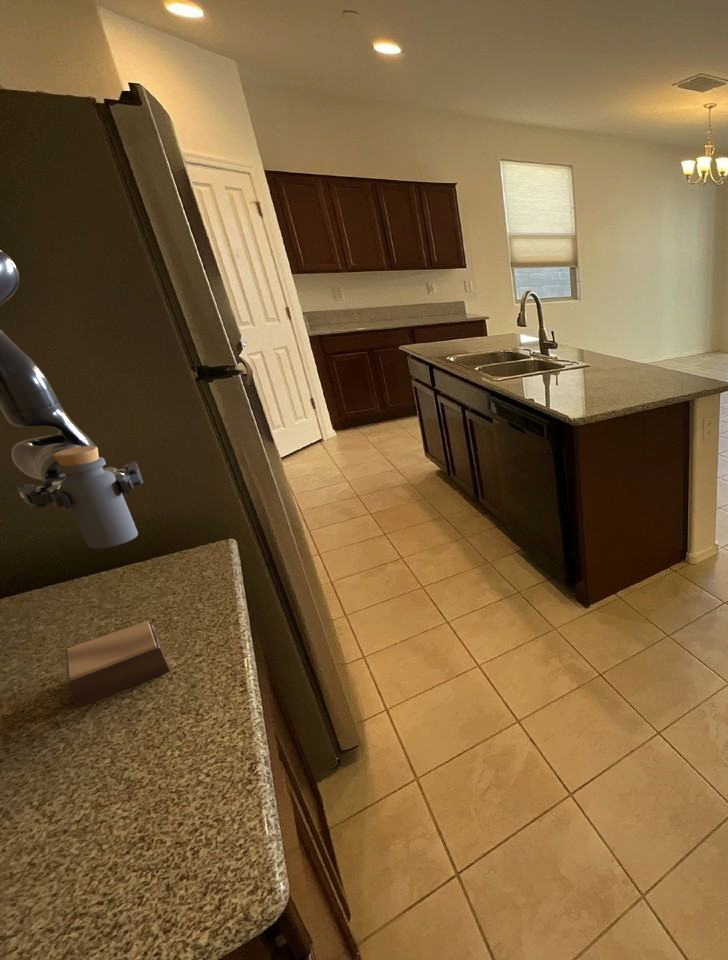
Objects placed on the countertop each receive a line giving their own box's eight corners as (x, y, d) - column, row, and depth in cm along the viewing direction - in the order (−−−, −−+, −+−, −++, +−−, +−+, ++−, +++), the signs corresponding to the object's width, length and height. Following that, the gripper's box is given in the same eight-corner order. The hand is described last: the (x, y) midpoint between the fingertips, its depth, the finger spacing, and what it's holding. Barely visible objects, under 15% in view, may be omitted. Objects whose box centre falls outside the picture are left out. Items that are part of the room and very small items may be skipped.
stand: (77, 674, 73) (63, 648, 71) (160, 643, 79) (150, 618, 78) (80, 707, 67) (65, 680, 66) (170, 670, 73) (158, 645, 72)
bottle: (78, 546, 81) (36, 455, 75) (123, 529, 86) (86, 443, 80) (104, 551, 79) (62, 458, 74) (147, 534, 84) (112, 446, 79)
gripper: (-1, 462, 81) (13, 486, 71) (123, 440, 91) (149, 458, 82) (20, 506, 83) (37, 535, 74) (138, 479, 94) (166, 501, 85)
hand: (96, 494), depth 78 cm, fingers closed on bottle, 6 cm apart
